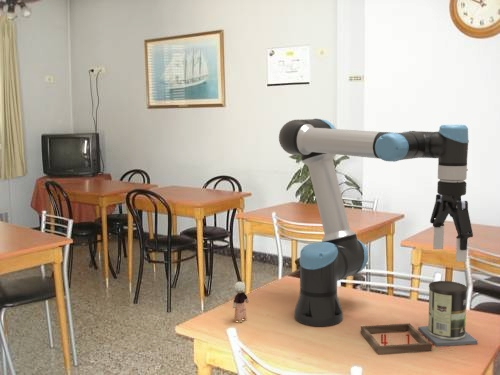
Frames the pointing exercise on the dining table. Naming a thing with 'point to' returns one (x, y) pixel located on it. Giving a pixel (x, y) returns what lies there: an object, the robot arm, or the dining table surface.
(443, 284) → the coffee can
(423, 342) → the square picture frame
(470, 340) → the mat
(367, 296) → the dining table surface
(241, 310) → the grandmother figurine
